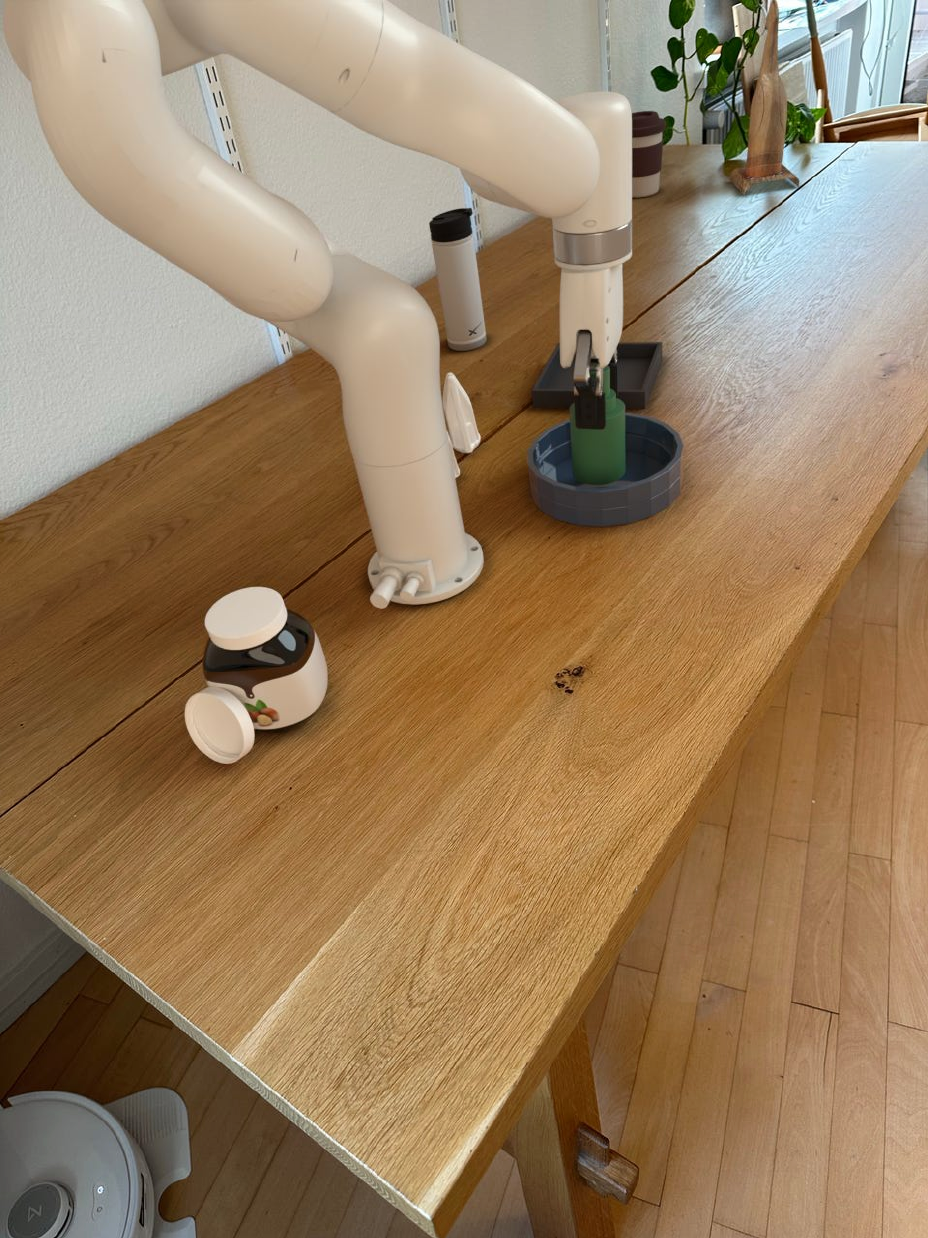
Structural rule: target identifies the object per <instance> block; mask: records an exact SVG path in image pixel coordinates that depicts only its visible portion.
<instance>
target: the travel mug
mask: <svg viewBox="0 0 928 1238" xmlns="http://www.w3.org/2000/svg"><path fill="white" fill-rule="evenodd" d="M473 214H474V213H473V208H472V207H466V208H465V207H461V208H455V209H451V210H448V211H444V212H442V213H439V214H437V215H435V216H433V217H432V218H431V219H432V220H430V221H429V223H428V225H429V226H428V227H429V232H430V241H431V247H432V253H433V258H434V259H433V260H434V265H435V266H434V267H435V272H436V278H437V285H438V290H439V296H440V303H441V309H442V316H443V322H444V328H445V335H446V339H447V346H448V347H449V349H451V350H453V351H457V352H468V351H473V350H476V349H479V348H481V347H483V346H484V345H485V344H486V342H487V331H486V323H485V316H484V315H485V314H484V308H483V299H482V292H481V285H480V276H479V269H478V262H477V254H476V245H475V239H474V232H473V228H472V220H471V217H472V215H473Z"/></svg>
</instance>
